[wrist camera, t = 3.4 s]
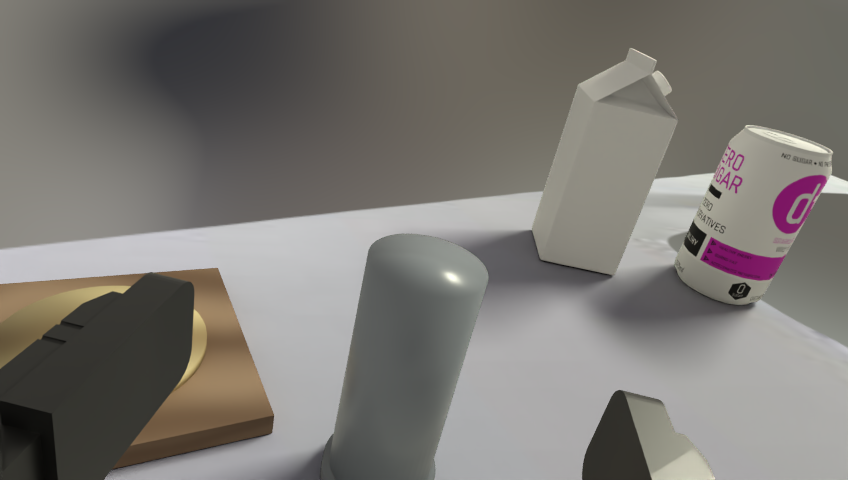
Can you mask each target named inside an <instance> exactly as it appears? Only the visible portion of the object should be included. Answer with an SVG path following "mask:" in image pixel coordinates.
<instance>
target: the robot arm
mask: <svg viewBox="0 0 848 480" xmlns="http://www.w3.org/2000/svg"><path fill="white" fill-rule="evenodd" d="M193 315H194V286H193V284H192V283H191V282H189V281H185V280H181V279H177V278H173V277H169V276H165V275H161V274H157V273H153V272H150V273H147V274H145V275H144V276H143V277H142V278H140V279H139V280H138V281H137V282H136V283H135V284H133V285H132V286H131V287H130V288H129V289H128V290H126V291H125V292H124V293H123V294H122V293H118V292H114V291H112V292H109V293H107V294H104V295H102V296H99V297H97V298H94V299H92V300H89V301H87V302H85V303H82V304H81V305H80V306H79V307H77V308H76V309H75V310H74V311H72V312H71V313H70V314H69V315H67V316H66V317H65V318H64V319H62V320H61V323H60V324H59V325H58V324H56V325H55V326H53V327H52V328H51V329H50V330H48V331H47V332H46V333H45V334H43V336H42V338H41V340H40V339H37V340H36V341H35V342H33V343H32V344H31V345H30V346H28V347H27V348H26V349H24V350H23V351H22V352H21V353H19V354H18V355H17V356H16V357H14V358H13V359H12V360H11V361H9V362H8V363H7V364H6V365H4V366H3V367H2V368H1V369H0V480H104V479H105V477H106V476H107V475H108V473H109V472H110V471H111V469H112V468H113V467H114V466H115V464H116V463H117V462H118V460H119V459H120V458H121V457H122V455H123V454H124V453H125V451H126V450H127V449H128V448H129V446H130V445H131V444H132V442H133V441H134V440H135V439H136V437H137V436H138V435H139V433H140V432H141V431H142V430H143V428H144V427H145V426H146V424H147V423H148V422H149V421H150V419H151V418H152V417H153V415H154V414H155V413H156V412H157V410H158V409H159V408H160V406H161V405H162V404H163V403H164V401H165V400H166V399H167V397H168V396H169V395H170V394H171V392H172V391H173V390H174V388H175V387H176V386H177V385H178V383H179V382H180V380H181V379H182V377H183V375H184V373H185V371H186V369H187V366H188V363H189V360H190V356H191V351H192V336H193ZM582 480H715V478H714V476H713V473H712V471H711V469H710V467H709V464H708V462H707V460H706V459H705V458H704V456H703V455H702V454H701V453H700V452H699V451H698V449H697V448H696V447H695V446H694V445H693V443H692V442H691V441H690V440H689V439H688V438H687V436H686V435H683V434H679V433H675V431H674V428H673V426H672V423H671V421H670V418H669V416H668V413H667V411H666V408H665V406H664V404H663V403H662V401H660V400H658V399H654V398H650V397H646V396H642V395H638V394H634V393H630V392H626V391H622V390H618V391H616V392H615V393H614V394H613V396H612V397H611V399H610V401H609V403H608V405H607V408H606V410H605V412H604V414H603V416H602V418H601V420H600V423H599V425H598V427H597V429H596V431H595V433H594V435H593V438H592V440H591V442H590V444H589V446H588V448H587V451H586V454H585V458H584V463H583V471H582Z"/></svg>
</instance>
